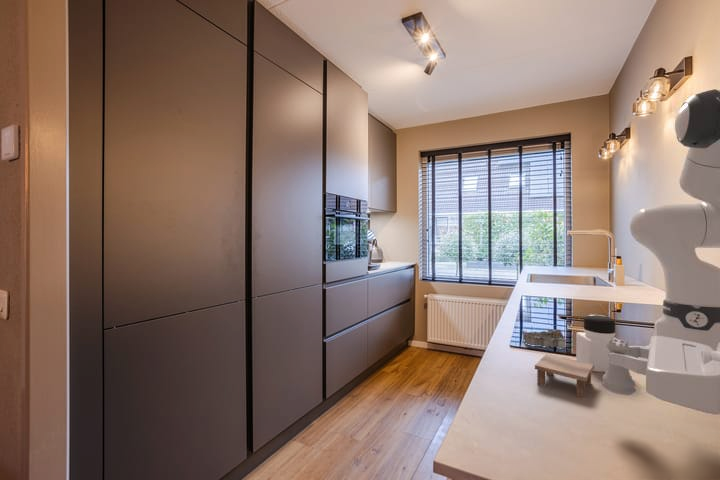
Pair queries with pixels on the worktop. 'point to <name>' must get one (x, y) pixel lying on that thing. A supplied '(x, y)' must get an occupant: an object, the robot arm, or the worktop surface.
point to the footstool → (565, 370)
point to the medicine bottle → (595, 341)
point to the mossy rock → (545, 338)
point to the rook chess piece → (618, 371)
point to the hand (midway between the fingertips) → (611, 353)
